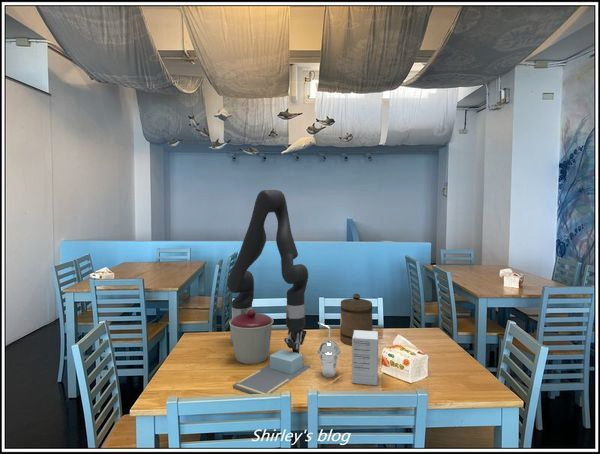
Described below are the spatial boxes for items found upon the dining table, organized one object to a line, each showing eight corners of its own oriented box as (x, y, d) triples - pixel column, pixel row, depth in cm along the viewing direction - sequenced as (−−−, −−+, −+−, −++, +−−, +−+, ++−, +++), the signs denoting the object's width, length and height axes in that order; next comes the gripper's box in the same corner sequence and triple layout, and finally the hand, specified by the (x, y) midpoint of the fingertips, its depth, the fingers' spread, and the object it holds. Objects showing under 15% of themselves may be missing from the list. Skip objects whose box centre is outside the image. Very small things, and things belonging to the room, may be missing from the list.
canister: (227, 354, 170) (226, 306, 169) (268, 349, 176) (268, 302, 174) (233, 372, 153) (232, 318, 152) (278, 366, 159) (278, 314, 157)
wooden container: (354, 332, 197) (354, 288, 195) (378, 340, 186) (379, 294, 185) (333, 340, 187) (333, 293, 185) (358, 348, 176) (358, 300, 175)
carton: (269, 368, 154) (269, 355, 154) (282, 361, 161) (282, 349, 161) (291, 374, 149) (291, 361, 148) (302, 366, 155) (302, 354, 155)
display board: (232, 387, 141) (232, 384, 141) (280, 360, 164) (280, 357, 164) (266, 399, 133) (266, 395, 132) (311, 369, 156) (311, 365, 156)
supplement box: (377, 386, 142) (378, 339, 140) (351, 383, 144) (351, 338, 142) (377, 374, 151) (378, 330, 150) (353, 372, 153) (353, 329, 152)
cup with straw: (324, 384, 143) (324, 329, 142) (313, 373, 152) (313, 322, 150) (344, 379, 147) (344, 326, 145) (332, 370, 155) (333, 319, 153)
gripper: (297, 309, 166) (297, 349, 167) (278, 317, 155) (278, 360, 156) (312, 312, 162) (312, 353, 163) (294, 320, 151) (294, 365, 152)
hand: (295, 357), depth 160 cm, fingers closed
